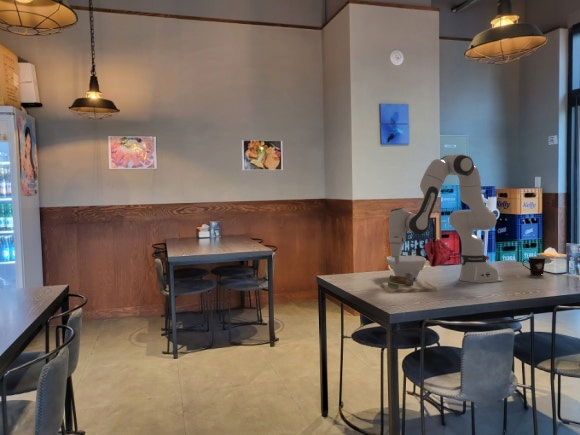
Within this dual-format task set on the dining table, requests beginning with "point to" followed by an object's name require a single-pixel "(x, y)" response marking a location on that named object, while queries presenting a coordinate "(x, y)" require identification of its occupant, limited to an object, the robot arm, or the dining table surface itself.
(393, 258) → the bowl
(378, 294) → the dining table surface
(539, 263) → the coffee mug
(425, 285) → the tuner board
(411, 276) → the tuning peg
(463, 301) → the dining table surface
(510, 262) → the dining table surface
